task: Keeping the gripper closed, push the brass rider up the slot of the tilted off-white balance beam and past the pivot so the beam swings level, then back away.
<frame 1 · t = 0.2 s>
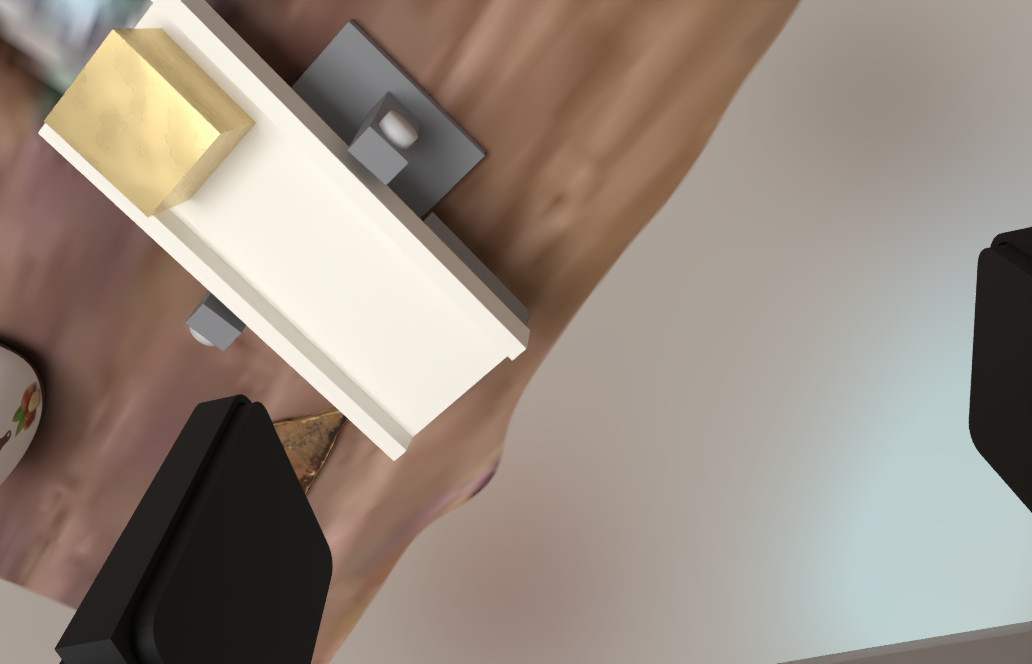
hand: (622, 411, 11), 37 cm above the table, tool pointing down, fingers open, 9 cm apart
balance stand: (323, 190, 47), on the table
rider: (175, 117, 39), point 6 cm above the table, tilted 10°, touching beam
beam: (309, 227, 43), point 5 cm above the table, hinge at -10.2°, touching rider
shard: (270, 437, 56), on the table
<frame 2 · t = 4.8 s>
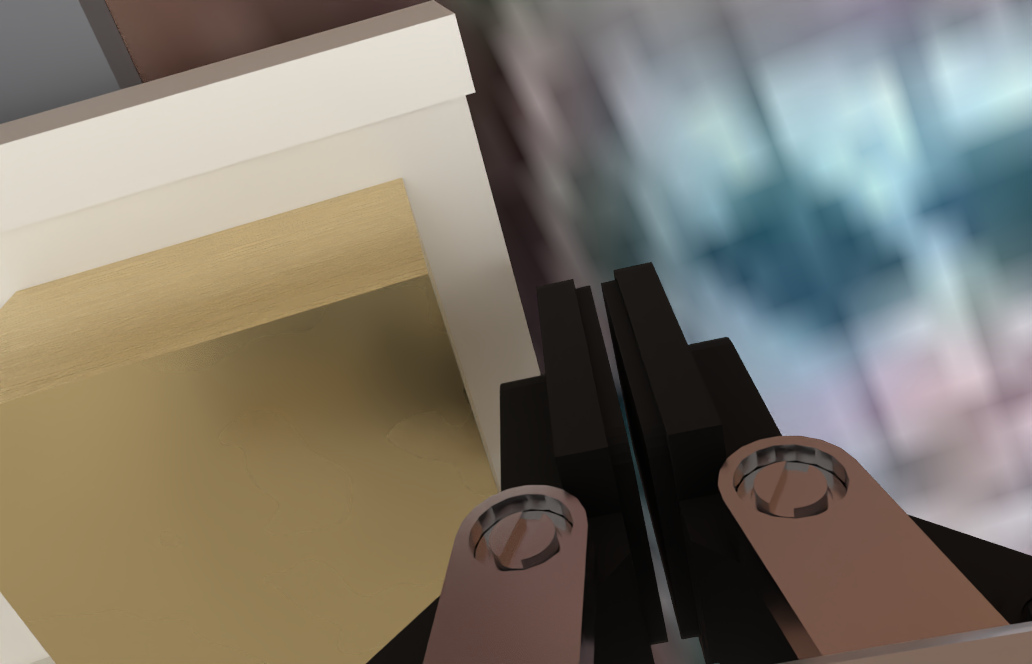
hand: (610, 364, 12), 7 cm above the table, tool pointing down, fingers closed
balance stand: (35, 325, 19), on the table
rider: (280, 384, 13), point 6 cm above the table, tilted 10°, touching beam, gripper
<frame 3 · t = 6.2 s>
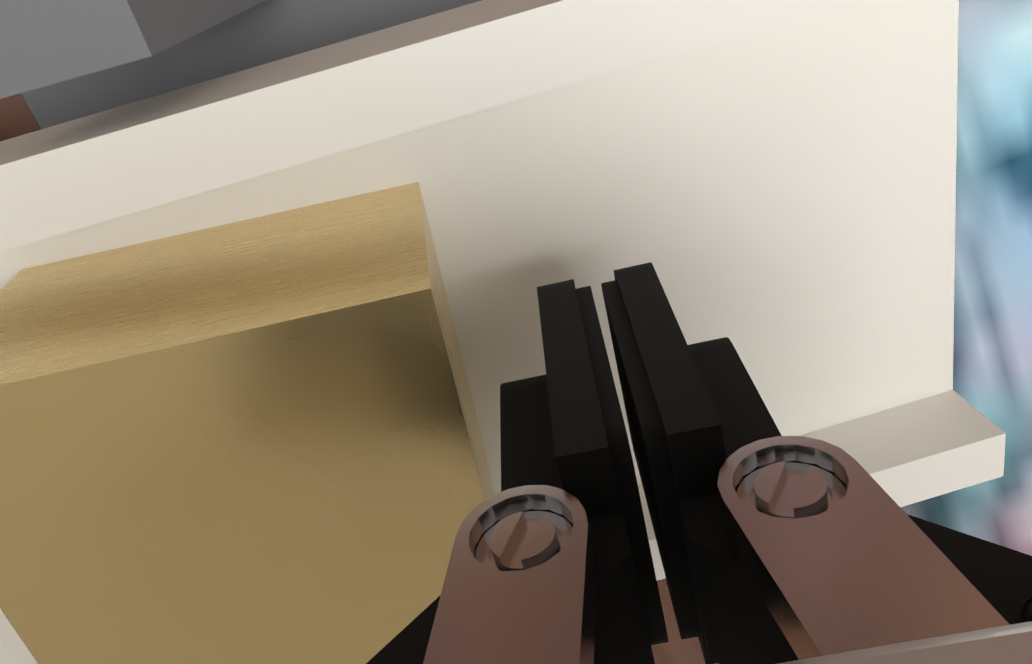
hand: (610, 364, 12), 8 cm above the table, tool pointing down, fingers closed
balance stand: (342, 241, 20), on the table
rider: (281, 380, 13), point 7 cm above the table, tilted 7°, touching beam, gripper
beam: (287, 351, 15), point 5 cm above the table, hinge at -6.8°, touching rider
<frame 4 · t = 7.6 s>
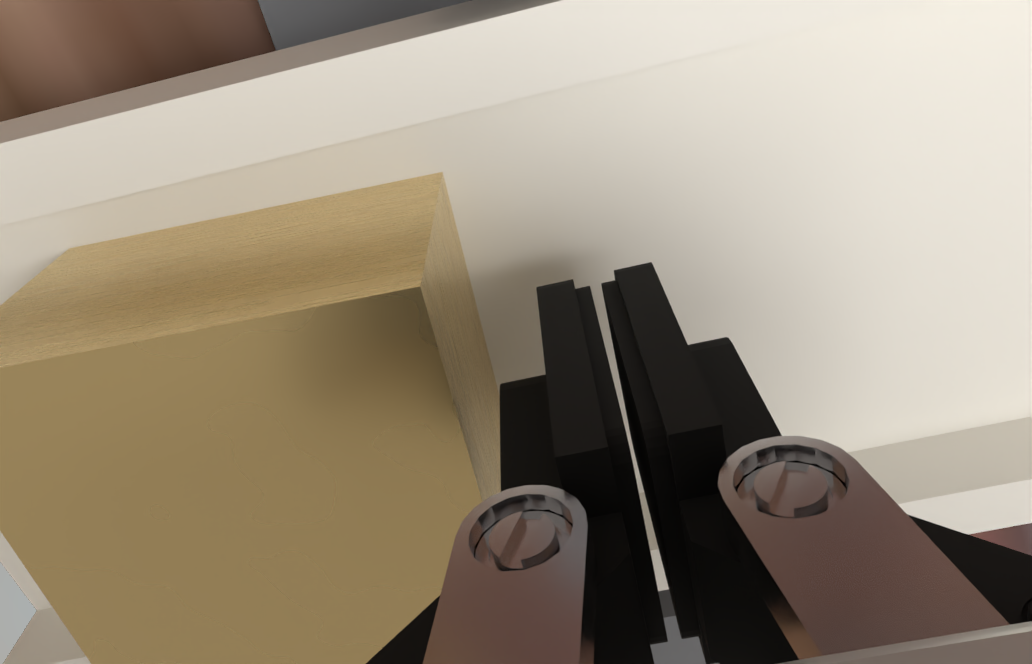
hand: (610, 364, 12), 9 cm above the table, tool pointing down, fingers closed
balance stand: (549, 182, 19), on the table
rider: (310, 363, 14), point 7 cm above the table, touching beam, gripper
beam: (568, 271, 15), point 5 cm above the table, hinge at 0.3°, touching rider
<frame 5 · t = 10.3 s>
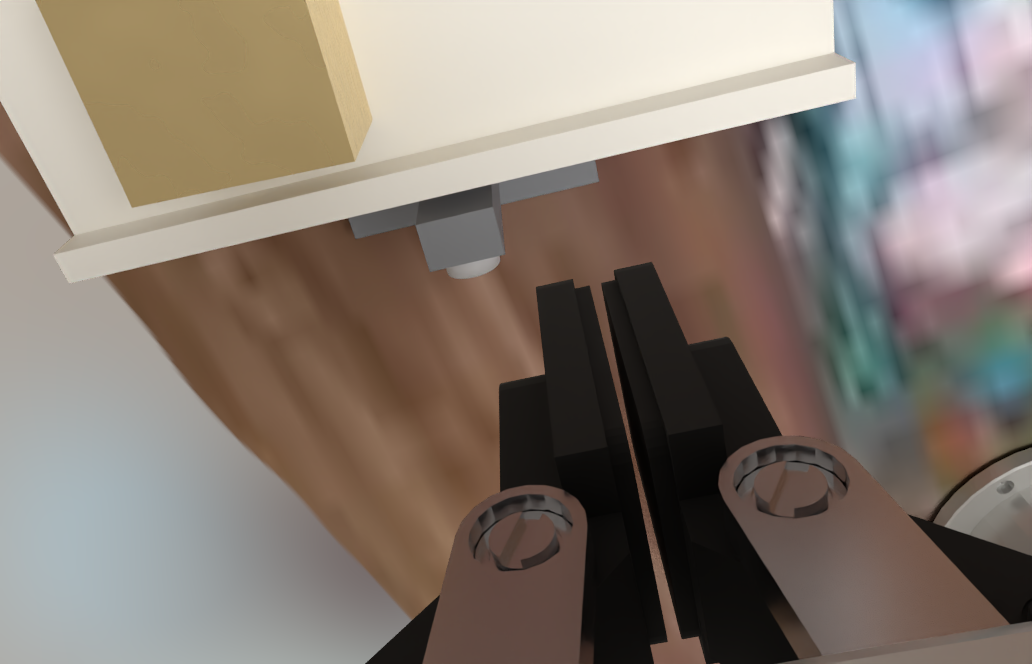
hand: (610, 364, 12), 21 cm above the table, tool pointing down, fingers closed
rider: (242, 44, 23), point 7 cm above the table, touching beam
beam: (406, 2, 24), point 5 cm above the table, hinge at 0.3°, touching rider
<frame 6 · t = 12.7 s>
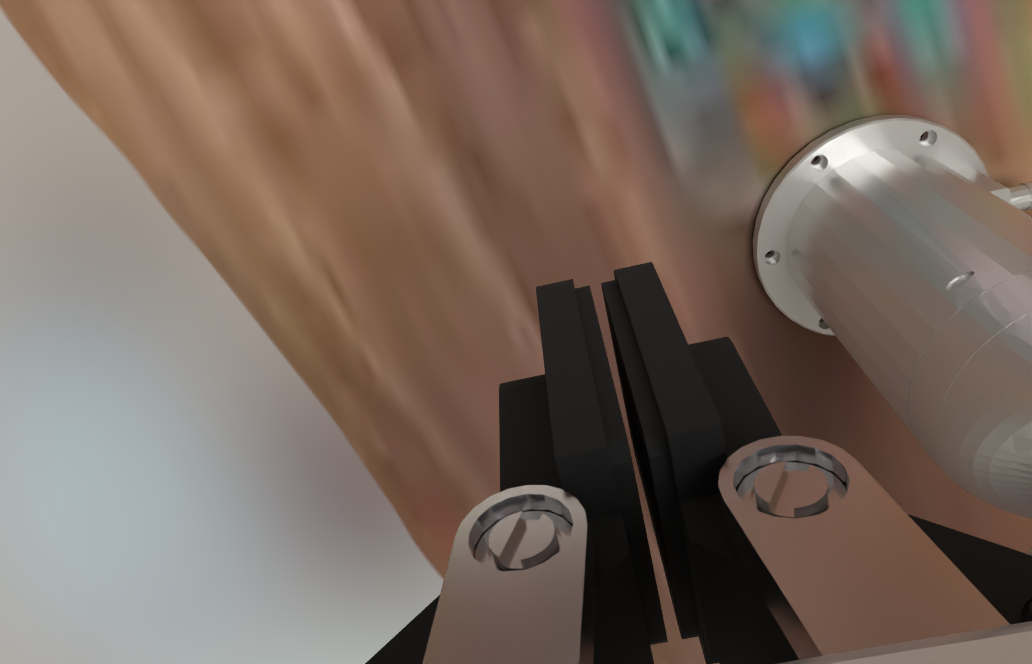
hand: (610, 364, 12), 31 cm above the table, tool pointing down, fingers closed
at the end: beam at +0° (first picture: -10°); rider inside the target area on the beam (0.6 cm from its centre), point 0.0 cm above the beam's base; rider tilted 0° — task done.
